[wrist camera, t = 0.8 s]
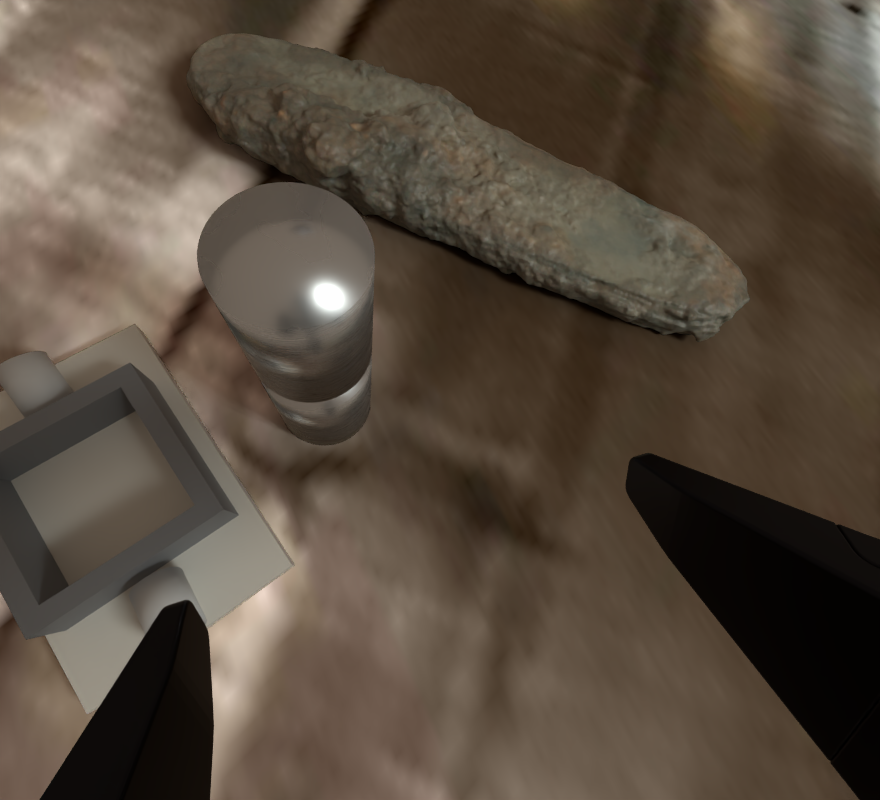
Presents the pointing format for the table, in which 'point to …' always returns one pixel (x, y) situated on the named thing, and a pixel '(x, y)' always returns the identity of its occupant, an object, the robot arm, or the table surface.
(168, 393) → the shaft mount
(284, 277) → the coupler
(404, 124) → the elongated rock
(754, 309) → the table surface
